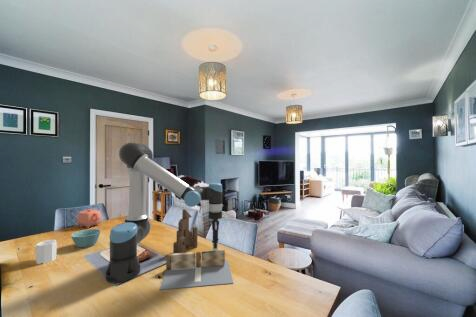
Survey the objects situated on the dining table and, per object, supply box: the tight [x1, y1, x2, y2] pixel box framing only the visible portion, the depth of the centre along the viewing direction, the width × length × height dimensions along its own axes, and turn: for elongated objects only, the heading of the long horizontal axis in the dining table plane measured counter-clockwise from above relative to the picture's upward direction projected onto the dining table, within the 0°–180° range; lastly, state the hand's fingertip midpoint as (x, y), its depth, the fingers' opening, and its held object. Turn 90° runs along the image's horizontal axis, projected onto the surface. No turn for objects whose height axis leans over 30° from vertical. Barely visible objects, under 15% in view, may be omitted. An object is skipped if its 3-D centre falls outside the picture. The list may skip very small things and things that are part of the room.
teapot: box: [76, 208, 102, 229], centre depth 178 cm, size 22×13×14 cm, turn 71°
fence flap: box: [201, 249, 226, 267], centre depth 111 cm, size 12×2×7 cm, turn 99°
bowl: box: [70, 228, 102, 249], centre depth 138 cm, size 16×16×8 cm
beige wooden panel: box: [165, 251, 202, 271], centre depth 109 cm, size 17×2×8 cm, turn 99°
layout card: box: [159, 259, 234, 291], centre depth 104 cm, size 32×22×1 cm
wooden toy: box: [172, 209, 199, 254], centre depth 132 cm, size 15×7×25 cm, turn 152°
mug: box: [34, 239, 58, 265], centre depth 117 cm, size 12×9×10 cm
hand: (215, 253), depth 118 cm, fingers closed
